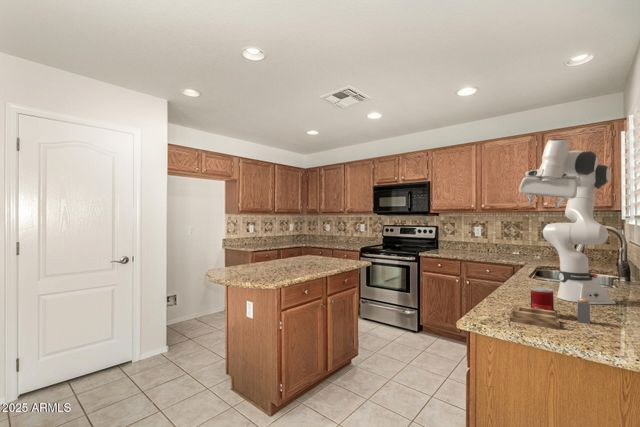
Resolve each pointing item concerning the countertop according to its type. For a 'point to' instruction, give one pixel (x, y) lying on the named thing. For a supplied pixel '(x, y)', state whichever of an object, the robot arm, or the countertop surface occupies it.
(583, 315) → the block with orange ball
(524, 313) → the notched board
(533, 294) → the canned food
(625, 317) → the countertop surface
